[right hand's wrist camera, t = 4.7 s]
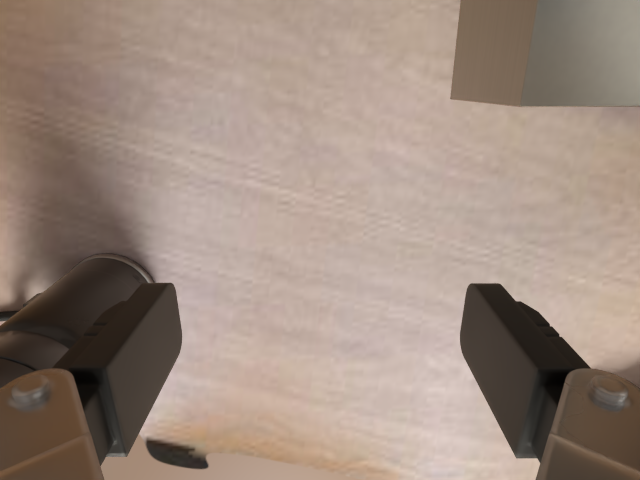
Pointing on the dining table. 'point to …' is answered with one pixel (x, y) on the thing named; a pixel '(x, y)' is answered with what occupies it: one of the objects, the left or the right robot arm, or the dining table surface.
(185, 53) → the dining table surface
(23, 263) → the dining table surface
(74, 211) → the dining table surface
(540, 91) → the box
